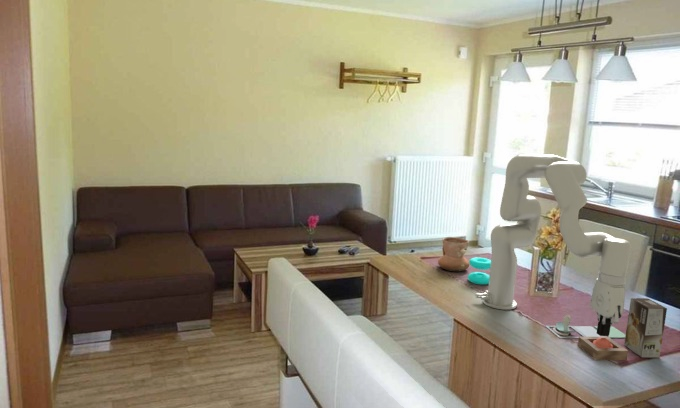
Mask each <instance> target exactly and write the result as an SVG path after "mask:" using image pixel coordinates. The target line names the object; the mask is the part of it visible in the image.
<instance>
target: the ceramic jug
mask: <svg viewBox="0 0 680 408" xmlns="http://www.w3.org/2000/svg"><path fill="white" fill-rule="evenodd" d="M469 244H470V241H469V240H467V239H464V238H460V237H452V236H447V237H443V238H442V256H440V257H439V258H438V260H437V264H438V265H439V267H441V268H442V269H444V270H447V271H450V272H462V271H465V270H467V269H468V268H469V266H471V265H470V263H469V261H470V260H468V259H467V258H466V257H465V253H467V249H468V247H469Z"/></svg>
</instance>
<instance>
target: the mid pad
mask: <svg viewBox="0 0 680 408" xmlns="http://www.w3.org/2000/svg"><path fill="white" fill-rule="evenodd" d="M572 327H574V328H575V329H576V330H578V331H579V332H580V333H582V334H583V335H584V336H586V337H607V336H600V335H599V334H597V329H596V328H595V327H594V326H591V325H587V326H584V325H581V326H579V325H576V326H575V325H573V326H572Z"/></svg>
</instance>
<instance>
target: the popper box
mask: <svg viewBox="0 0 680 408" xmlns="http://www.w3.org/2000/svg"><path fill="white" fill-rule="evenodd" d="M578 337H579V339H577V340H578V341H577V346H578V347H579V348H580V349H581V350H582V351H584V352H585V353H586V354H587V355H589V356H590V357H591V358H592V359H593V360H595V361H628V356H629V355H628V354H629V350H628V349H627V348H625V347H623V346H622V345H621V344H620V343H618V342H617V341H615V340H613V338H609V337H607V336H606V337H604V338H607V339H608V340H609V341H610V343H611V344H612V345H613V348H598V347H597V346H595V345H594V344H593V341H594V340H596V339H598V338H600V337H583V336H578Z"/></svg>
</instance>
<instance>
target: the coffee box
mask: <svg viewBox="0 0 680 408" xmlns="http://www.w3.org/2000/svg"><path fill="white" fill-rule="evenodd" d="M667 312H668V308H667V307H665V306H663V305H662V304H660V303H657V302H656V301H654V300H652V299H650V298H648V297H645V298H644V297H643V298H641V297H637V298H633V297H632V298H630V303H629V309H628V315H627V316H628V317H627V322H626V323H627V324H626V331H625V335H626V336H625V338H624V345H623V346H625V347H626V348H628V349H629V350H631V351H632V352H633V353H635V354H636V355H638V356H639V357H641V358H660V355H661V351H662V342H663V336H664V330H665V324H666V318H667Z"/></svg>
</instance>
